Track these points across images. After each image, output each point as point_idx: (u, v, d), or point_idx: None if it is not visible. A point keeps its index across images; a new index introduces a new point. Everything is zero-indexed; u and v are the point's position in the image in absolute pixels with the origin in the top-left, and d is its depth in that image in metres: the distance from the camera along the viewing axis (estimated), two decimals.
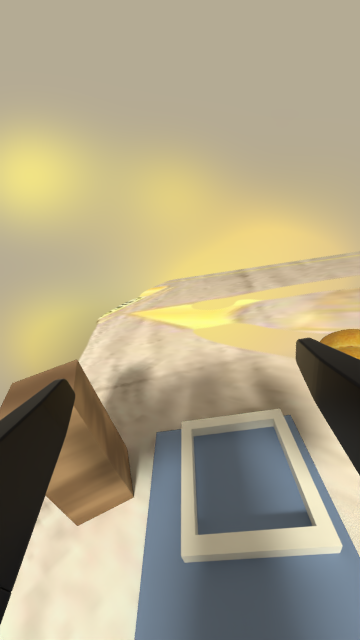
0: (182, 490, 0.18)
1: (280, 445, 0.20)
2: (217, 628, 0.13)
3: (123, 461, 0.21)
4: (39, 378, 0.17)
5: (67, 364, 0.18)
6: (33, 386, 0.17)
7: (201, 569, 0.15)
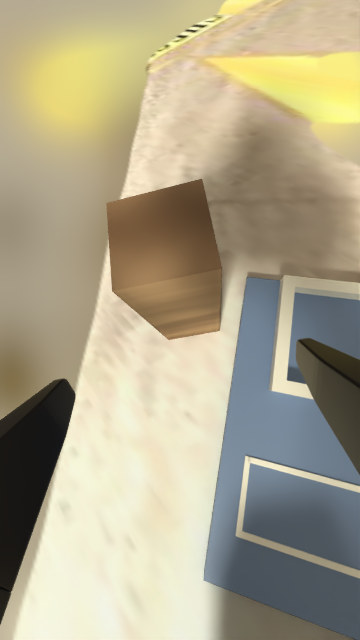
0: (278, 344, 0.19)
1: None
2: (289, 430, 0.18)
3: None
4: (149, 204, 0.11)
5: (188, 187, 0.11)
6: (145, 219, 0.11)
7: (282, 397, 0.19)
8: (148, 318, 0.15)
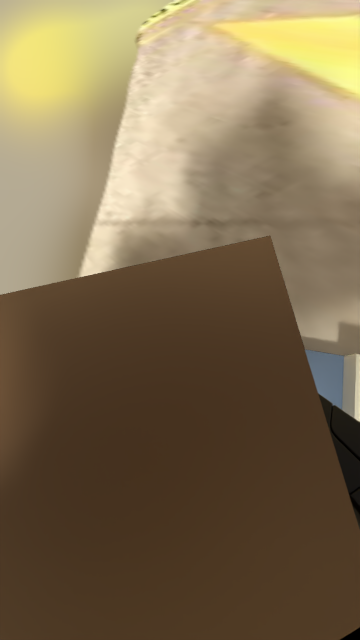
0: None
1: None
2: None
3: None
4: (83, 324, 0.03)
5: (222, 266, 0.03)
6: (64, 385, 0.03)
7: None
8: None
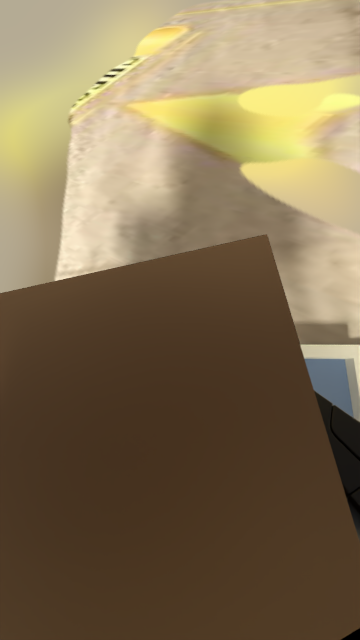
0: None
1: (348, 384, 0.18)
2: None
3: None
4: (81, 322, 0.03)
5: (219, 264, 0.03)
6: (62, 383, 0.03)
7: None
8: None
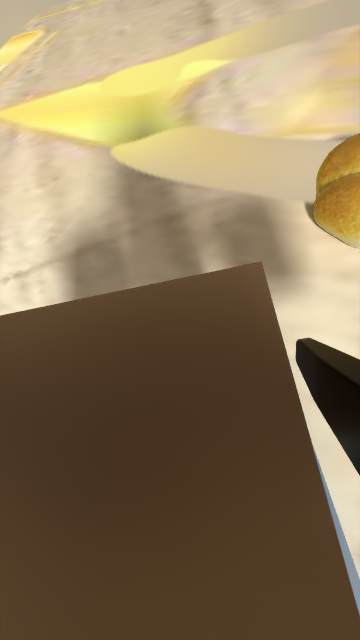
0: None
1: None
2: None
3: None
4: (104, 335, 0.04)
5: (221, 287, 0.04)
6: (90, 386, 0.04)
7: None
8: None
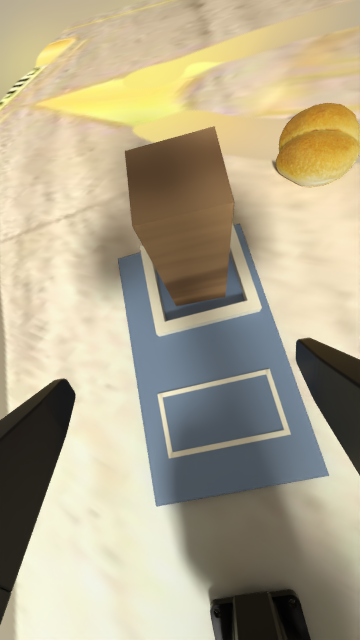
0: (150, 298, 0.22)
1: None
2: (183, 358, 0.22)
3: None
4: (165, 150, 0.12)
5: (202, 134, 0.12)
6: (161, 163, 0.12)
7: (171, 337, 0.22)
8: (160, 271, 0.16)
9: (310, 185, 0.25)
